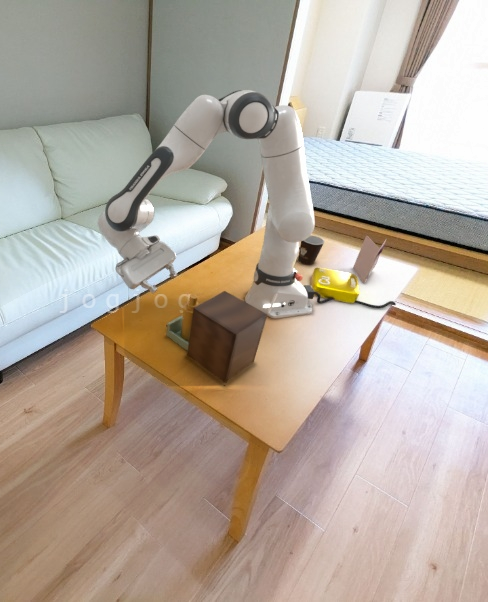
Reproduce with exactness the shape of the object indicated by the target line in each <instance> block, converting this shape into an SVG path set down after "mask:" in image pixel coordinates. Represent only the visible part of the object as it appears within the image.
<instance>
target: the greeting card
mask: <svg viewBox="0 0 488 602" xmlns="http://www.w3.org/2000/svg"><path fill="white" fill-rule="evenodd" d="M386 241H387V239H385V240H384V242H383V243H382V244H381V246H380V247H379V246H378V245H377V244H376V243H375V242H374V241H373V240H372V239H371V238H370V237H369V236H368V235H365V238H364V240H363V242H362V245H361V247H360V249H359V252H358V254H357V257H356V259H355V262H354V264H353V266H352V270H353V272H354V274H355V275H356V276H357V277H358V278H359V279H360V281H361V282H362V283H363V284H365V283H366V282H367V280H368V279H369V277H370V275H371V274H372V272H373V270H374V268H375V267H376V265H377V263H378V262H379V261H378V260H379V258H380V255H381V253H382V252H383V250H384V248H385V245H386Z"/></svg>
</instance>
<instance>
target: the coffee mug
mask: <svg viewBox="0 0 488 602" xmlns="http://www.w3.org/2000/svg"><path fill="white" fill-rule="evenodd" d="M324 244H325V239H323V238H322V237H320V236H317V235H312V234H311V235H310V236H309V237H308V238H307V239H305V240H303V241H300V243H299V252H298V256H297V261H298V262H299V264H302V265H306V266H312V265H314V264H315V263H316V260H317V258H318V256H319V254H320V252H321V250H322V248H323V246H324Z"/></svg>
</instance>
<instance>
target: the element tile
mask: <svg viewBox="0 0 488 602" xmlns="http://www.w3.org/2000/svg"><path fill="white" fill-rule="evenodd" d="M310 279H311V281H310V285H311V287H312V288H313V290H314V291H315V292H318V293H319V294H320V296H321V298H323V299H327V298H330V297H333V298H335V299H334V300H333V301H338V302H342V303H346V304H355V303H354V302H355V301H356V300H357V301H358V298H359V295H360V286H359V285H360V284H359V279H358V275H357V274H355V273H350V272H344V271H340V270H334V269H328V268H323V267H315V268H314V269H313V271H312V274H311V278H310ZM314 297H317V295H315V294H314Z"/></svg>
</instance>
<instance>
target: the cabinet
mask: <svg viewBox="0 0 488 602" xmlns="http://www.w3.org/2000/svg"><path fill="white" fill-rule="evenodd" d="M267 317H268V316H267V314H266V313H264V312H262V311H261V310H259V309H257V308H255V307H253V306H252V305H250V304H248V303H246V301H245V300H242V299H241V298H239V297H237V296H236V295H234V294H232V293H229V292H228V291H226V290H223V291H222V292H219V293H218V294H216V295H214V296H212V297H211V298H209V299H207V300H204V302H201V303H199V305H198V306H196V307H194V309H193V316H192V323H191V330H190V338H189V345H188V351H187V352H186V356H188V357H189V358H190V359H192V360H193V361H194V362H196V364H197V363H198V365H200V366H201V367H203V368H204V369H205V370H207V371H208V372H210V374H212V375H213V376H214V377H216V378H217V379H218V380H220V381H221V382H223V383H224V384H223V386H224V387H225V386H226V383H227V382H229V381H230V380H231V379H232V378H234V377H236V376H237V375H238V374H239V373H241V372H242V371H243V370H245V369H246V368H247V367H249V366H250V365H252V364H253V363H254V362H255V359H256V355H257V353H258V348H259V346H260V345H259V344H260V341H261V338H262V334H263V331H264V329H265V325H266V321H267Z"/></svg>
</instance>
